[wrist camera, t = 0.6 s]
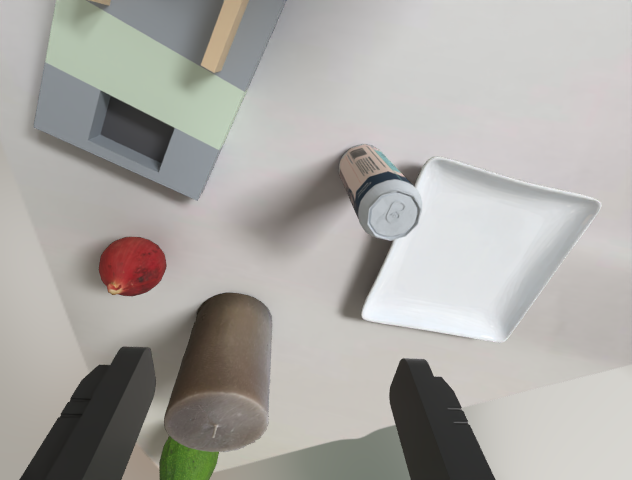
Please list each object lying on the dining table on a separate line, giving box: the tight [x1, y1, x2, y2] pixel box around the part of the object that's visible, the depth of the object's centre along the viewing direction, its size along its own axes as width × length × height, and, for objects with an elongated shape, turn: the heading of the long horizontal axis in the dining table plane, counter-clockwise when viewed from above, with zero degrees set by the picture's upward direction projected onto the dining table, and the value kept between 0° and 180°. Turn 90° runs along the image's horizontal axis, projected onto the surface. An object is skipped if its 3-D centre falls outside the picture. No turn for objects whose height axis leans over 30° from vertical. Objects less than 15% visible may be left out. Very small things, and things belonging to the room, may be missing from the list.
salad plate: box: [361, 157, 602, 343], centre depth 39 cm, size 21×21×3 cm
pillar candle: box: [164, 293, 272, 452], centre depth 36 cm, size 10×10×15 cm
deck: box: [34, 0, 286, 201], centre depth 25 cm, size 25×14×6 cm, turn 150°
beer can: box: [339, 144, 422, 241], centre depth 29 cm, size 5×5×12 cm
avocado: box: [159, 436, 219, 480], centre depth 47 cm, size 8×8×12 cm
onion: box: [99, 237, 166, 296], centre depth 33 cm, size 6×6×8 cm
